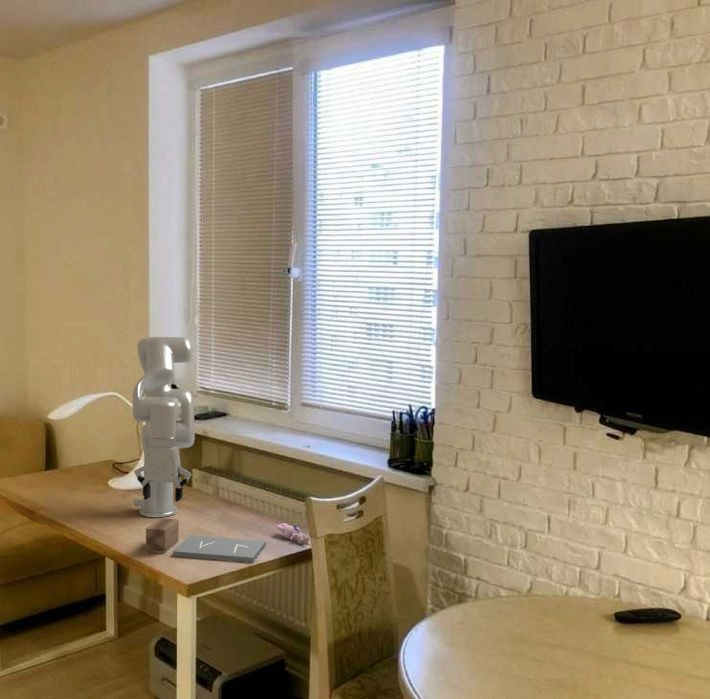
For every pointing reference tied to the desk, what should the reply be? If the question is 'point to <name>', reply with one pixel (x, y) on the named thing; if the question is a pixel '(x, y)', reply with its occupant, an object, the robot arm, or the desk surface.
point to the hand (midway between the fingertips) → (162, 499)
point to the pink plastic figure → (292, 533)
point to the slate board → (219, 548)
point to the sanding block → (162, 535)
